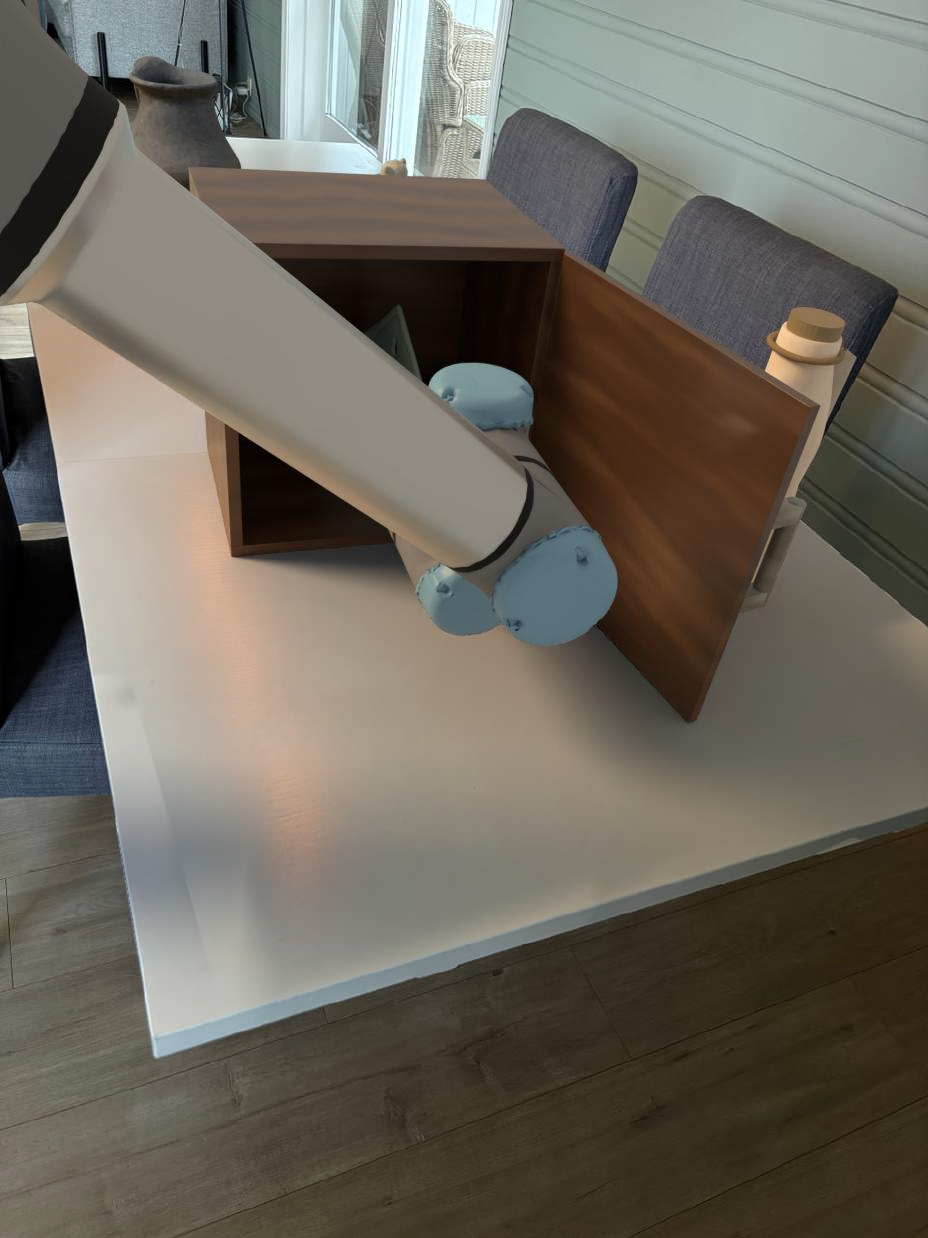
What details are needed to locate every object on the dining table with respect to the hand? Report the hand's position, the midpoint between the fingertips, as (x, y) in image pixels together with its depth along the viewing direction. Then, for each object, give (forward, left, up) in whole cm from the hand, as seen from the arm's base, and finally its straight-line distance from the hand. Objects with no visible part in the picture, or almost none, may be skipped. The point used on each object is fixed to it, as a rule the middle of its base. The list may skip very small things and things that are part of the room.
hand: (362, 388), depth 94 cm
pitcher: (-27, +94, -13) cm, 99 cm away
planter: (0, +1, -12) cm, 12 cm away
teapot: (+7, +68, -13) cm, 70 cm away
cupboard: (0, +1, -13) cm, 13 cm away
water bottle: (+40, -13, -13) cm, 44 cm away
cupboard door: (+25, -21, -13) cm, 35 cm away
